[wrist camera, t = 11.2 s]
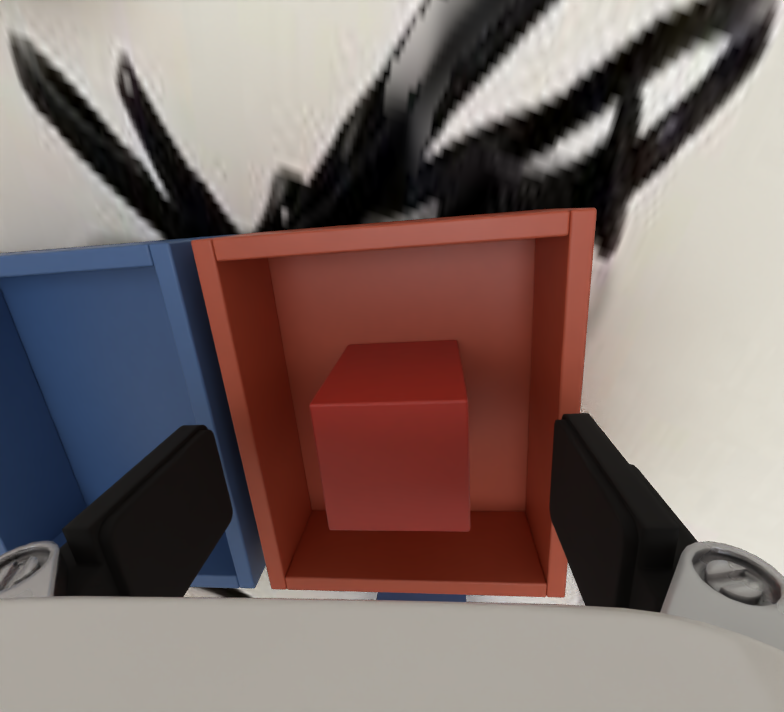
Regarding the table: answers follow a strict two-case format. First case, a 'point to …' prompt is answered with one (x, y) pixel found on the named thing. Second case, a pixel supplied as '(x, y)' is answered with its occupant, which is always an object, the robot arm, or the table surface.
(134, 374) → the blue bin
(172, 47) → the table surface
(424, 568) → the red bin
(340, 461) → the red block
